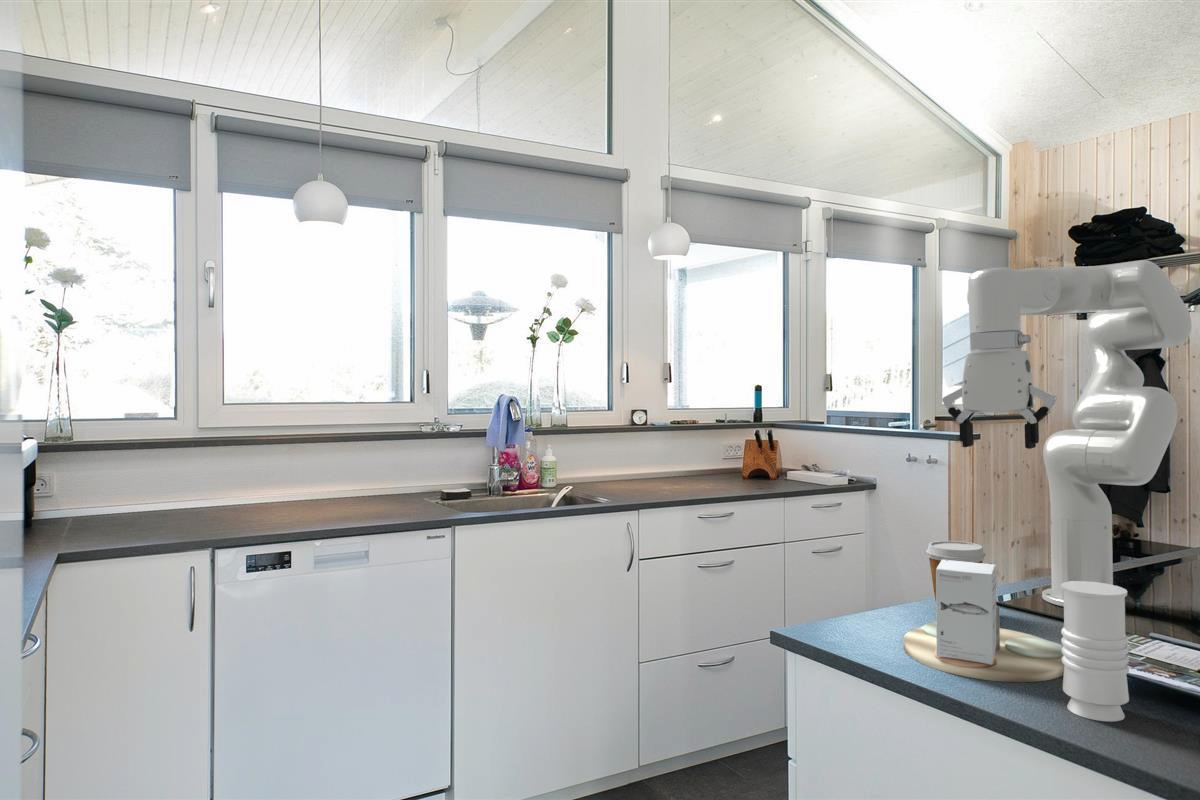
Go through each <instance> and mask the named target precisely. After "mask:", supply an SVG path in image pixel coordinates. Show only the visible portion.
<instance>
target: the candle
mask: <svg viewBox="0 0 1200 800" xmlns="http://www.w3.org/2000/svg"><path fill="white" fill-rule="evenodd" d="M1061 588H1062V590H1063V591H1064V607H1063V627H1062V629H1061V630H1060V632H1061V636H1062V638H1061V641H1060V642H1061V645H1063V647H1062V654H1063V657H1062V663H1063V664H1064V675H1063V678H1062V679H1063V680H1062V691H1063V692H1064V693H1065V694H1066V695H1067V696H1069V697H1070V699H1069V701H1068V703H1067V705H1066V707H1067V710H1069V712H1071V713H1073V714H1075V715H1077V716H1079V717H1082V718H1085V719H1088V720H1094V721H1099V722H1119V721H1122V720H1124V719H1125V717H1126V715H1125V712H1123V709H1122V707H1121V706H1122V705H1126V704H1127V703H1129V701H1130V695H1129V687H1128V686H1129V685H1128V677H1127V675H1128V674H1129V672H1130V667H1129V665H1128V664H1129V662H1130V657H1129V656H1128V654H1129V652H1130V648H1129V646H1128V645H1127V644H1129V639H1130V638H1129V637H1128V635H1127V634H1126V599H1125V598H1126V597H1127V596H1128V590H1127V589H1126V588H1123V587H1121V586H1119V585H1114V584H1113V585H1111V584H1105V583H1099V582H1088V581H1070V582H1064V583H1062V584H1061Z"/></svg>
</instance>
